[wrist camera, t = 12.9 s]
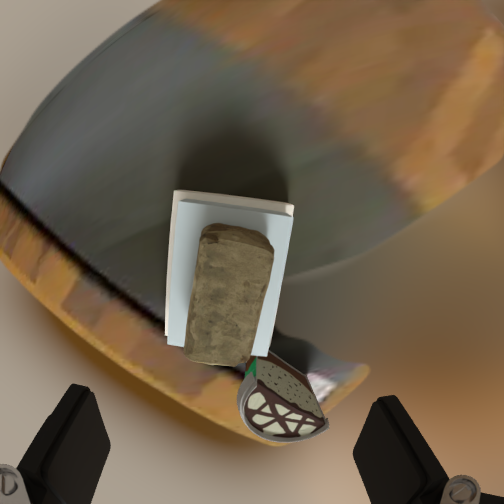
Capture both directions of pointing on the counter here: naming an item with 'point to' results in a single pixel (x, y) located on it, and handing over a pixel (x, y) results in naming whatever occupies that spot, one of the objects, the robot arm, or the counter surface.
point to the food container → (279, 401)
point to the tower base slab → (220, 199)
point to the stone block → (227, 294)
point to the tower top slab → (186, 250)
